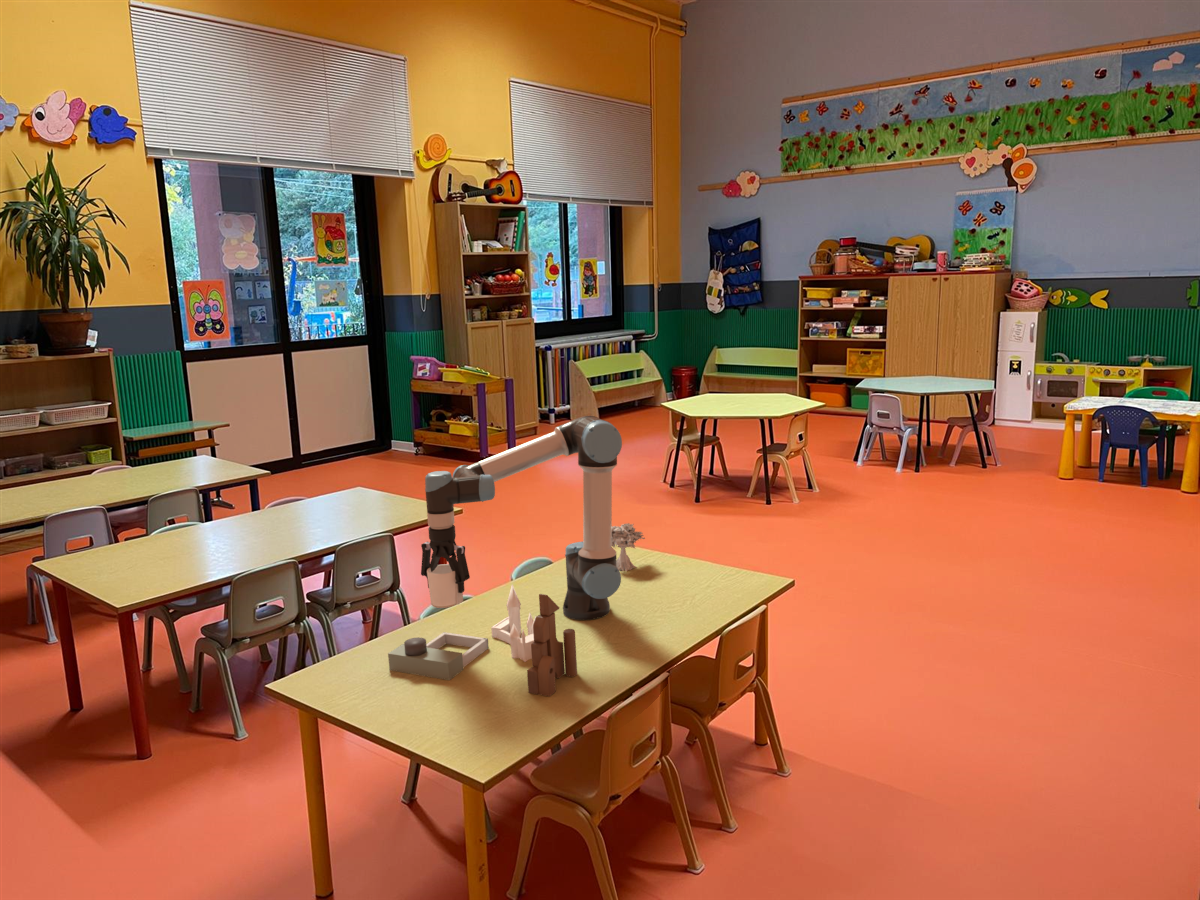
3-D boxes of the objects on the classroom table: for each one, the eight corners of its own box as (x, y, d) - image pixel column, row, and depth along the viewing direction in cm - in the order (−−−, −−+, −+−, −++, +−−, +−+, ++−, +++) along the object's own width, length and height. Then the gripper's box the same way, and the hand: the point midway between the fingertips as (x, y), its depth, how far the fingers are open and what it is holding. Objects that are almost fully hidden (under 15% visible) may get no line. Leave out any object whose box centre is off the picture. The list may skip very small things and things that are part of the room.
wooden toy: (549, 697, 230) (544, 606, 225) (528, 692, 233) (522, 602, 228) (579, 673, 243) (574, 586, 238) (558, 669, 246) (553, 583, 241)
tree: (631, 578, 317) (629, 533, 313) (593, 572, 325) (591, 528, 321) (654, 563, 332) (652, 520, 328) (617, 557, 340) (615, 516, 337)
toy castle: (511, 625, 278) (508, 576, 275) (561, 648, 260) (558, 596, 257) (472, 639, 269) (469, 588, 266) (521, 663, 251) (518, 610, 248)
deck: (490, 648, 262) (489, 622, 260) (449, 680, 242) (447, 652, 240) (434, 639, 270) (432, 615, 268) (389, 670, 250) (387, 643, 248)
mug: (448, 610, 251) (445, 575, 249) (423, 606, 255) (420, 572, 253) (470, 597, 261) (468, 564, 259) (446, 593, 265) (443, 560, 263)
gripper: (479, 525, 252) (484, 601, 257) (419, 519, 261) (425, 592, 266) (464, 532, 246) (469, 610, 250) (403, 525, 255) (409, 600, 259)
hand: (447, 600), depth 258 cm, fingers closed on mug, 8 cm apart
